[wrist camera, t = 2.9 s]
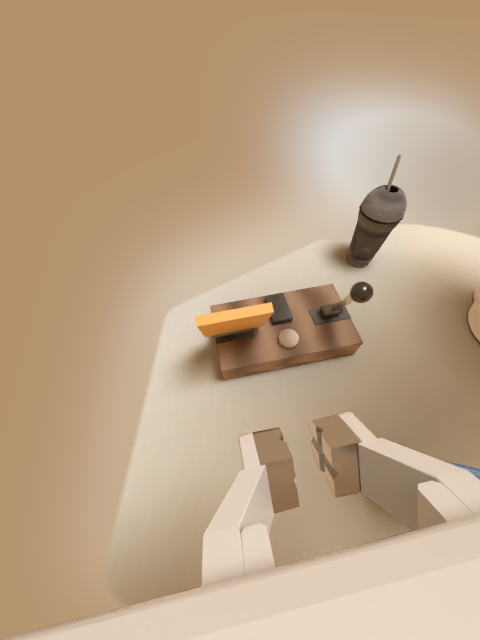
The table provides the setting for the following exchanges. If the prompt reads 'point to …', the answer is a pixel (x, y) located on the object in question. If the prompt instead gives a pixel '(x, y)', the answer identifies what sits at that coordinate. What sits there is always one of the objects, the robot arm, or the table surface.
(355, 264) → the beverage cup
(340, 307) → the steel toggle lever
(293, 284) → the table surface
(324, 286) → the control panel
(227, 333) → the orange paddle
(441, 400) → the table surface
